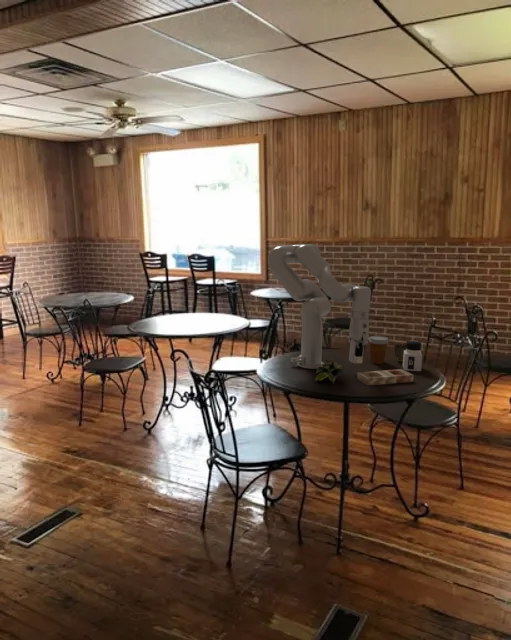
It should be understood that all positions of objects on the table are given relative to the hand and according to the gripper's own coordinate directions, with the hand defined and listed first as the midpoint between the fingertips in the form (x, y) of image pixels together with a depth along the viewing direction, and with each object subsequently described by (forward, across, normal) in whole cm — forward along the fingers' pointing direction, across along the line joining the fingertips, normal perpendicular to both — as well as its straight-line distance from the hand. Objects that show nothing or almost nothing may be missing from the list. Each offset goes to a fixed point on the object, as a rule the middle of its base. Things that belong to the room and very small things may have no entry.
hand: (356, 354), depth 236 cm
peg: (+3, 0, 0) cm, 3 cm away
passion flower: (+9, -9, +16) cm, 21 cm away
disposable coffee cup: (+9, +14, -20) cm, 26 cm away
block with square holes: (+8, -13, -8) cm, 17 cm away
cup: (+9, +12, -32) cm, 35 cm away
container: (+8, 0, -30) cm, 31 cm away
